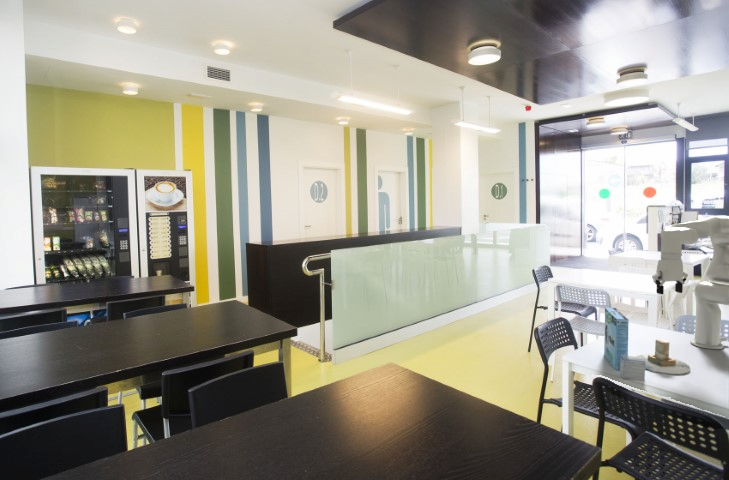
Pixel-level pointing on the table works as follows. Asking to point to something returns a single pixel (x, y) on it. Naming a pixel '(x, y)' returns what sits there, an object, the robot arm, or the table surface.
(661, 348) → the tan block
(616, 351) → the gum box
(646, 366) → the rosette plate
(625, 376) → the medicine box
